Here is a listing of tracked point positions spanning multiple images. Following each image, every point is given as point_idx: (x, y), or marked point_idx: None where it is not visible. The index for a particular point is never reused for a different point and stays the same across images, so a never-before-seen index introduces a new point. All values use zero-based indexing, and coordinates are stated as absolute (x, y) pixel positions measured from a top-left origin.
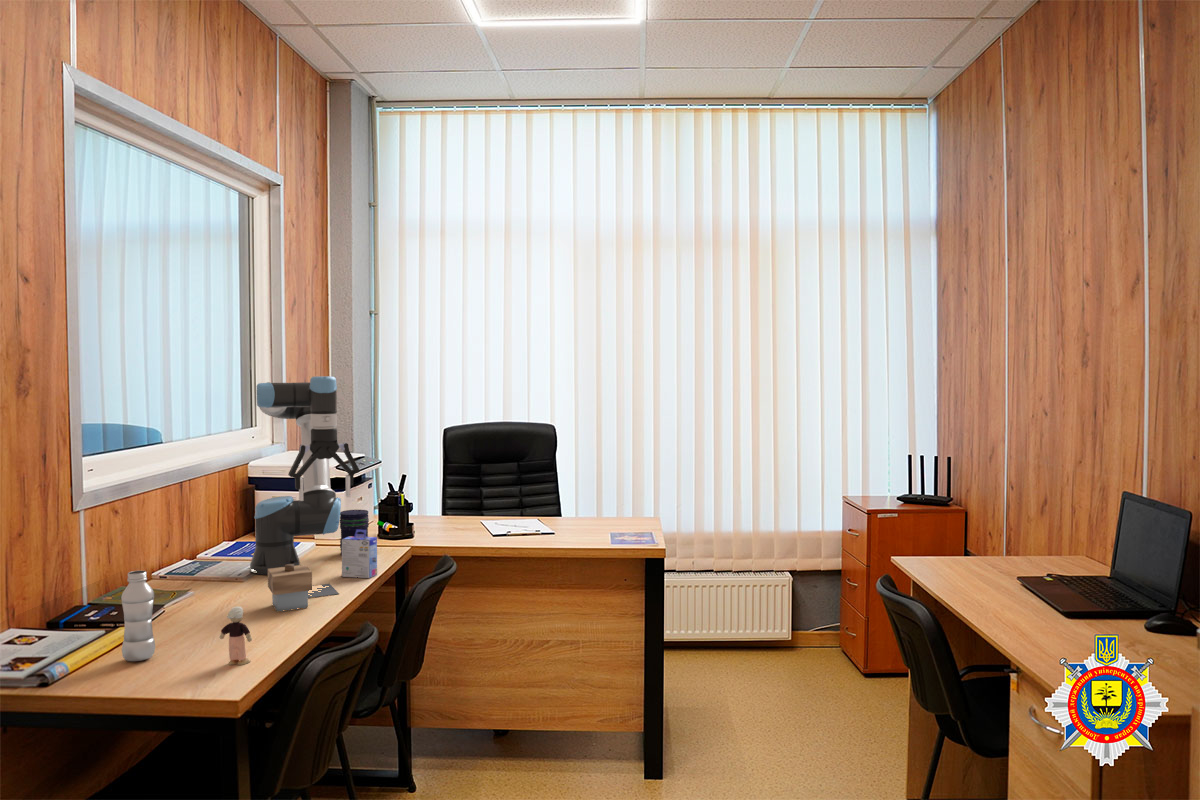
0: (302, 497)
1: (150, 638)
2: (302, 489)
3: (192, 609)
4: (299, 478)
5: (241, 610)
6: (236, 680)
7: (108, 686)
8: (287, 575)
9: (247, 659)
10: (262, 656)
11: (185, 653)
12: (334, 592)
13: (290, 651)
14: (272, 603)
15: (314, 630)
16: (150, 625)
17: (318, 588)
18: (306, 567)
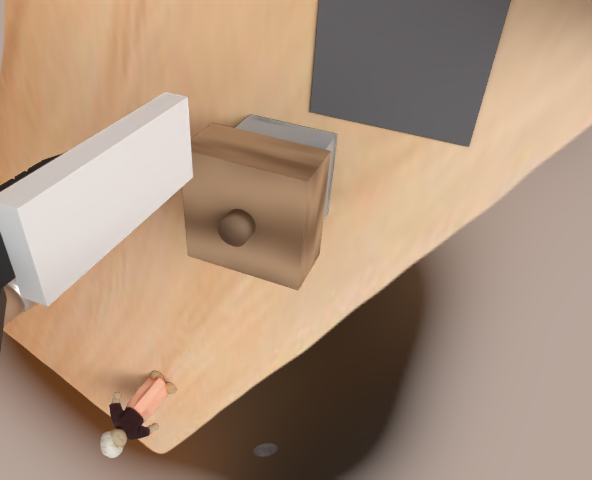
0: (169, 190)
1: (23, 310)
2: (122, 232)
3: (53, 3)
4: (5, 277)
5: (116, 456)
6: (160, 422)
7: (26, 333)
8: (227, 267)
9: (170, 393)
10: (193, 386)
11: (90, 296)
12: (462, 121)
13: (233, 399)
14: (249, 115)
15: (292, 355)
16: (5, 323)
17: (441, 17)
18: (300, 226)
